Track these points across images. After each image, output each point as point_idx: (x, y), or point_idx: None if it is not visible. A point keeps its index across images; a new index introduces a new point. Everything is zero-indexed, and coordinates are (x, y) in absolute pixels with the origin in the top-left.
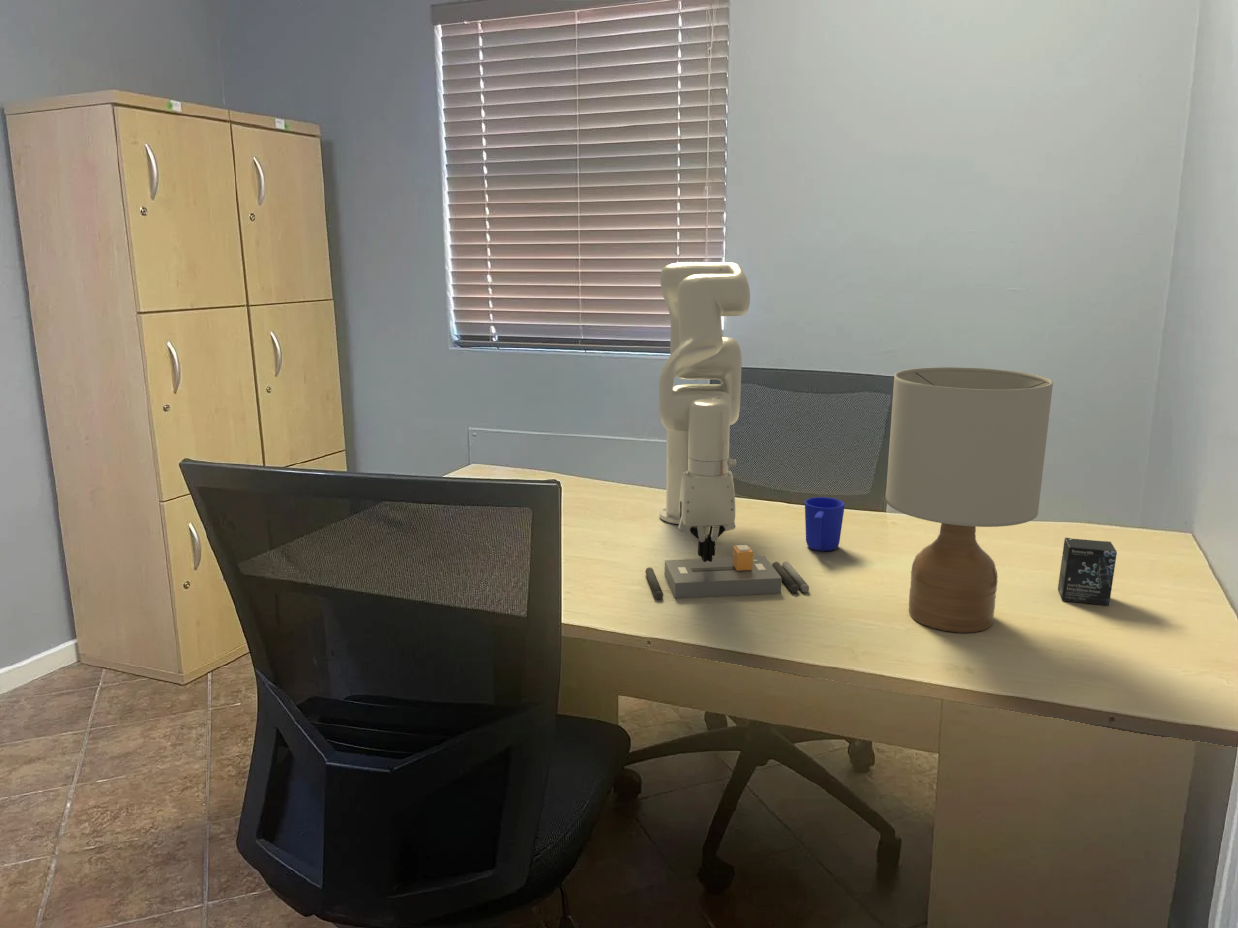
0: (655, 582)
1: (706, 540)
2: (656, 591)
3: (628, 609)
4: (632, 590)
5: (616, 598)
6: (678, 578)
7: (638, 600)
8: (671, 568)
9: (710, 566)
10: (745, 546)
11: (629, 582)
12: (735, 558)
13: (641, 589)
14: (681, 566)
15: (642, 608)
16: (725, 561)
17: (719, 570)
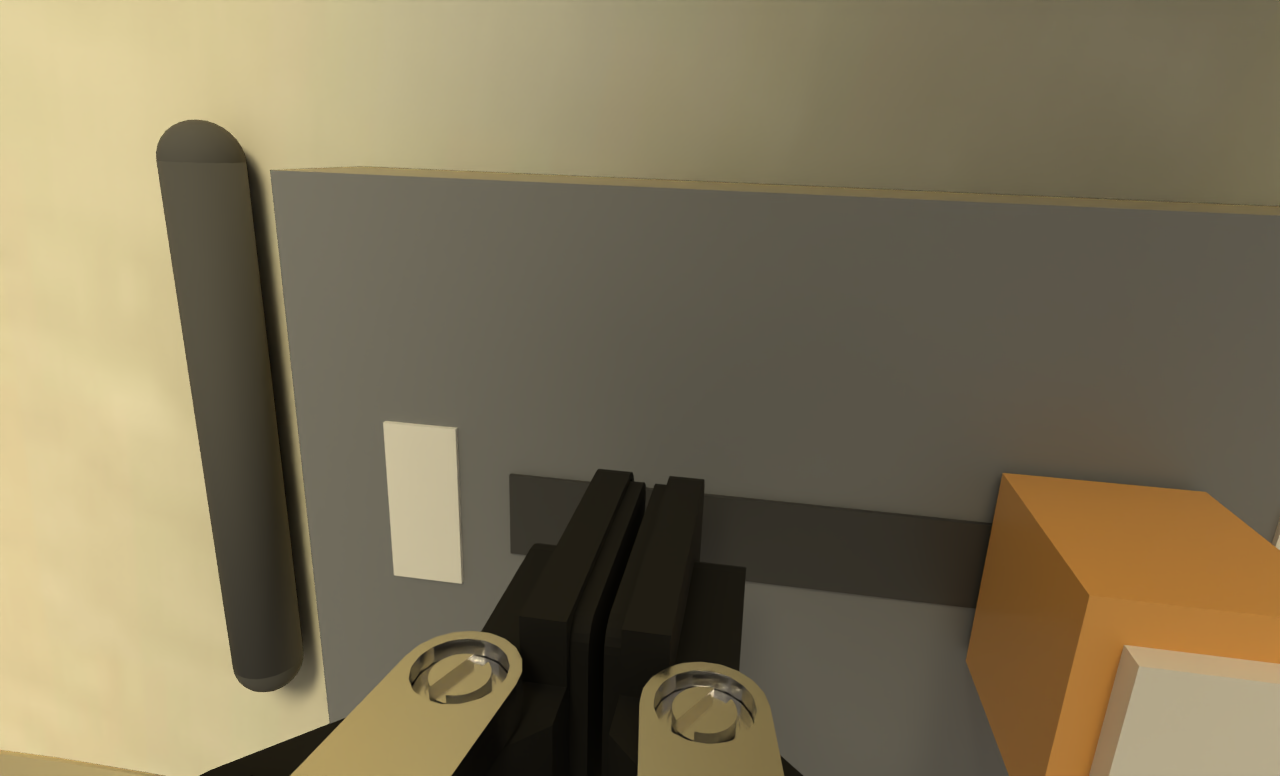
0: (226, 521)
1: (586, 759)
2: (234, 669)
3: (109, 726)
4: (112, 453)
5: (24, 559)
6: (367, 661)
7: (160, 622)
8: (325, 424)
9: (729, 459)
10: (1267, 751)
11: (80, 293)
12: (1012, 664)
13: (173, 449)
14: (427, 393)
15: (188, 735)
16: (962, 338)
17: (789, 584)
